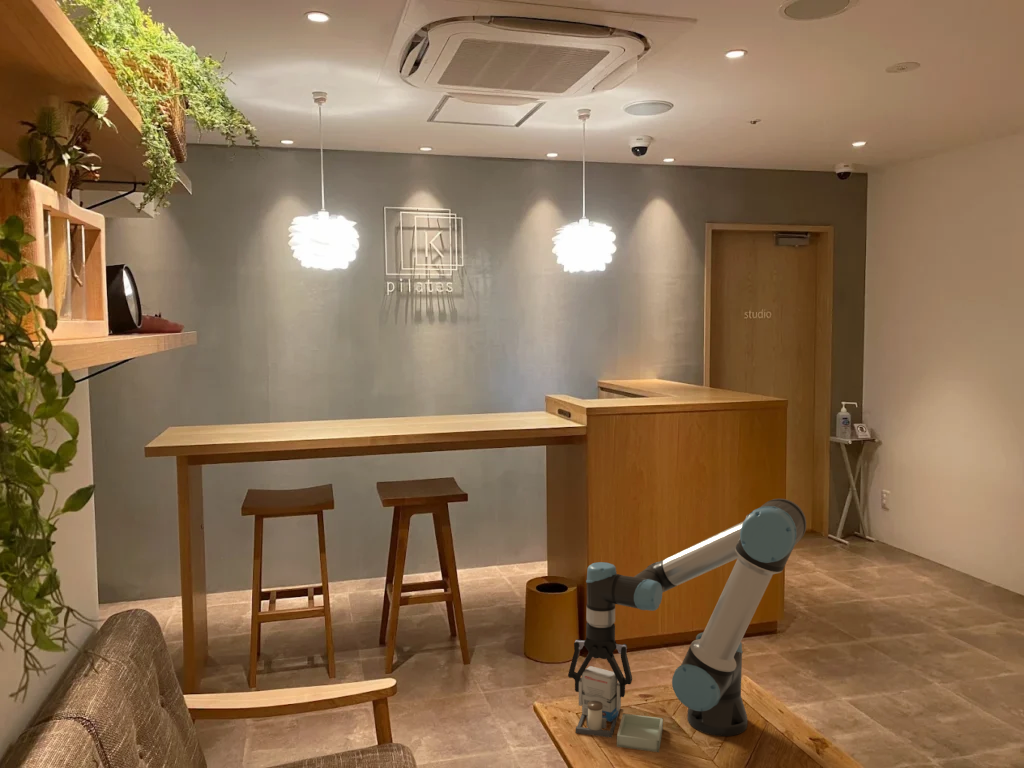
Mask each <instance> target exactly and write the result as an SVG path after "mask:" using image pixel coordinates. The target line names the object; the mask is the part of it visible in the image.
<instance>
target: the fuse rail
mask: <svg viewBox="0 0 1024 768" xmlns="http://www.w3.org/2000/svg"><path fill="white" fill-rule="evenodd" d="M620 710H621V709H620ZM620 710H619V711H618V715H617V716H616V717H615V718H614V719H613V720H612V721H611V724H610V725H611V726H610V730H606V729H607V721H606V718H602V730H591V729H589V728H588V716H587V715H583V714H582V713H581V715H580V718H579V721H578V722H577V723H578V724H577V726H575V733H576V734H582V735H589V736H595V737H597V736H598V737H604V738H611V739H612V737H613V734H614V731H615V727H616V725H617V721H618V719H619V718H618V717H619V713H620ZM585 717H586V727H585V726H584V727H583V726H582V725H583V723H584V721H585Z"/></svg>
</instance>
